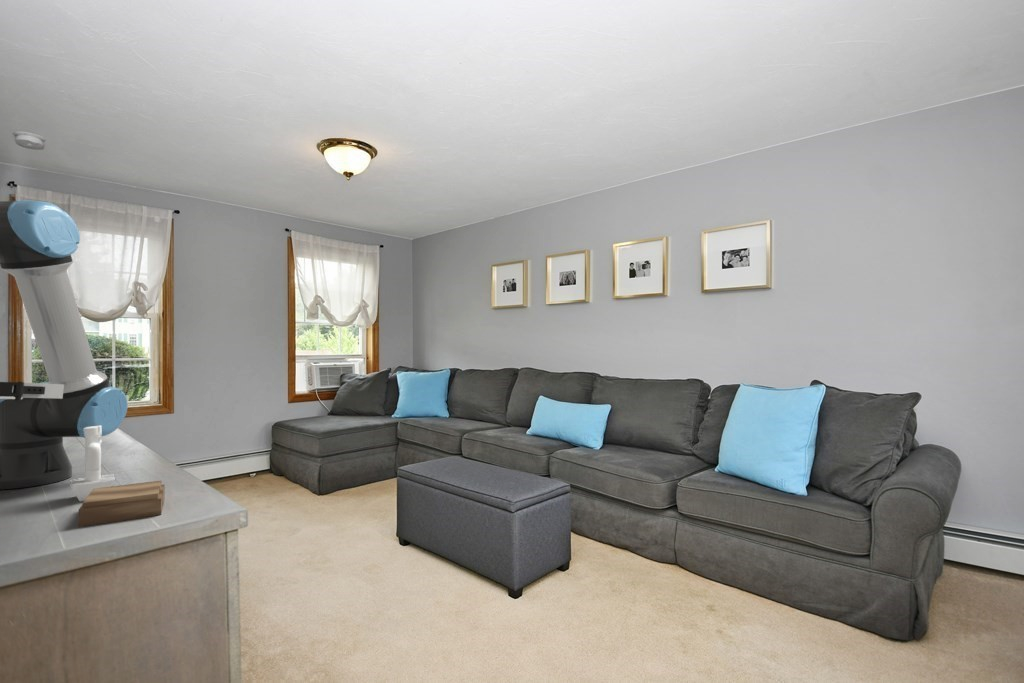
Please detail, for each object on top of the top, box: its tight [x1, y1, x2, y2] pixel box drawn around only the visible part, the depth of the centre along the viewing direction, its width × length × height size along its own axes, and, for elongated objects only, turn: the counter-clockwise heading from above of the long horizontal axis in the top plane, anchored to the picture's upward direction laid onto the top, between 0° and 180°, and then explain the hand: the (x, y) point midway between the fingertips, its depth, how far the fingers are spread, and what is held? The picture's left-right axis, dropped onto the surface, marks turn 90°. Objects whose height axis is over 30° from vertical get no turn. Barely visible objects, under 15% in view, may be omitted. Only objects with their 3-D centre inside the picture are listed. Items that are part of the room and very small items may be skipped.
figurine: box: [69, 425, 116, 502], centre depth 108 cm, size 7×9×15 cm
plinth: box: [78, 480, 166, 528], centre depth 98 cm, size 12×12×4 cm
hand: (42, 392), depth 101 cm, fingers open, 13 cm apart
